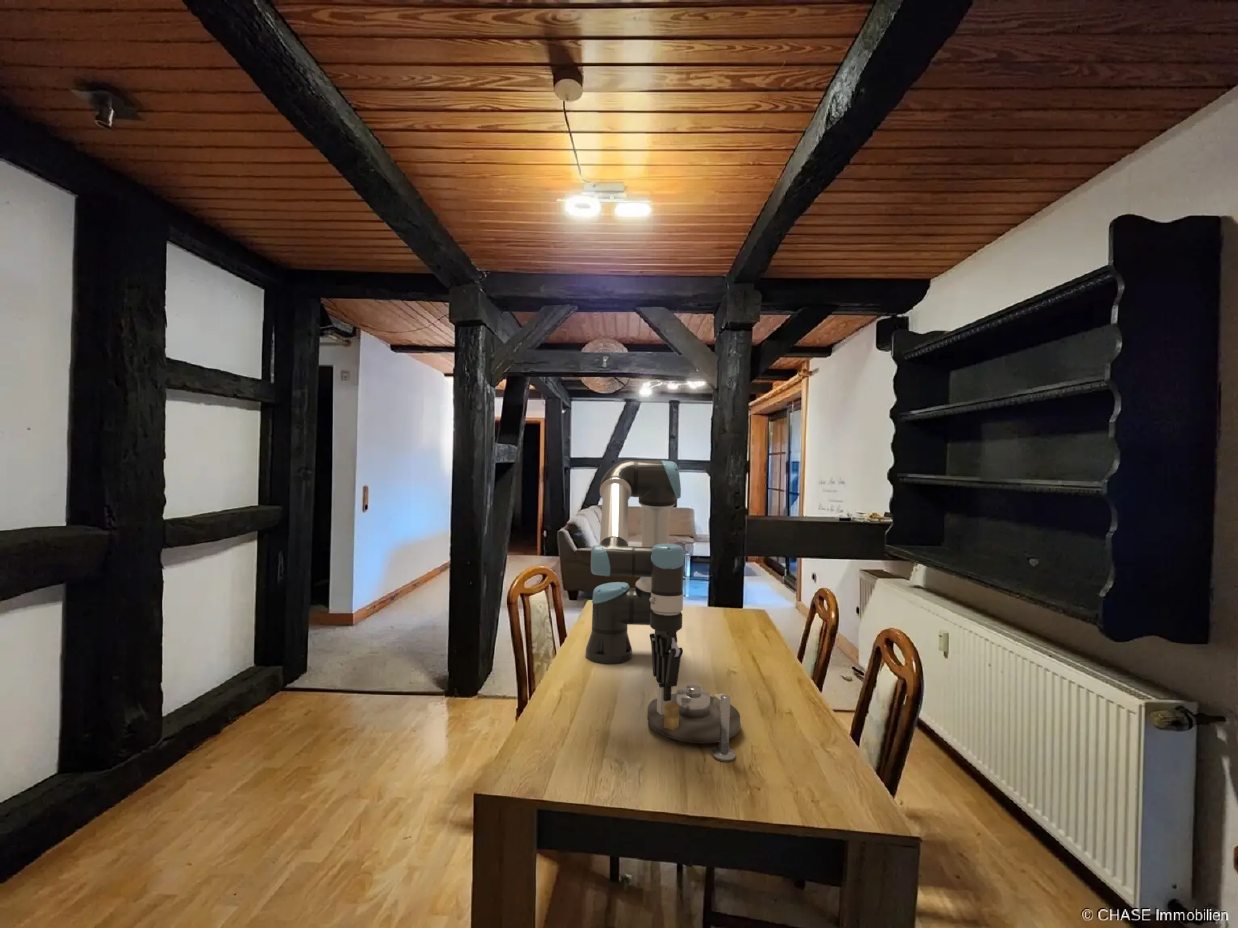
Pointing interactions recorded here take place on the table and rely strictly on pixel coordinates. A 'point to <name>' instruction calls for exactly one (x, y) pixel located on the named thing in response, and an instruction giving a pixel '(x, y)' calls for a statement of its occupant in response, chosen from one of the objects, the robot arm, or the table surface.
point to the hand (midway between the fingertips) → (663, 711)
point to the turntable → (690, 723)
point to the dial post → (723, 729)
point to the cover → (693, 702)
